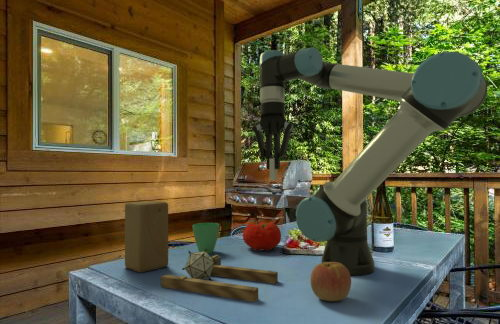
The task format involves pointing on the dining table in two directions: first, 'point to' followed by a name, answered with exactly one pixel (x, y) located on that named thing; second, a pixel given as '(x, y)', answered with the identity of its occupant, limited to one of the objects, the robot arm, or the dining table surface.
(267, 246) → the tomato
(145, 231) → the wooden block
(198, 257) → the game die
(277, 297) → the dining table surface
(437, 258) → the dining table surface
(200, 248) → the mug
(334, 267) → the apple
